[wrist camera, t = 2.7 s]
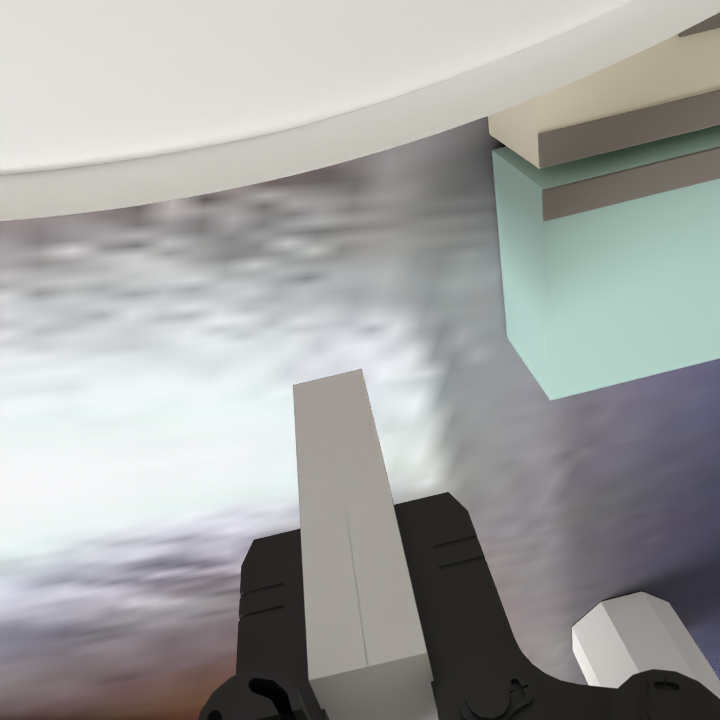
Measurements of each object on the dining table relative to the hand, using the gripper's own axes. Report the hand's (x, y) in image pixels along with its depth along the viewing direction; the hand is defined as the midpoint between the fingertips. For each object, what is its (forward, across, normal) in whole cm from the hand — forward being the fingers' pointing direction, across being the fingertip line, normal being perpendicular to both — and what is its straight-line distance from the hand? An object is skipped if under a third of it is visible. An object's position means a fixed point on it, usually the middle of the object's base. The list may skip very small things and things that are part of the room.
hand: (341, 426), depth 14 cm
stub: (+6, +10, 0) cm, 11 cm away
